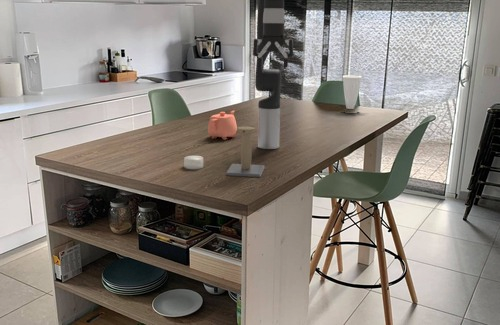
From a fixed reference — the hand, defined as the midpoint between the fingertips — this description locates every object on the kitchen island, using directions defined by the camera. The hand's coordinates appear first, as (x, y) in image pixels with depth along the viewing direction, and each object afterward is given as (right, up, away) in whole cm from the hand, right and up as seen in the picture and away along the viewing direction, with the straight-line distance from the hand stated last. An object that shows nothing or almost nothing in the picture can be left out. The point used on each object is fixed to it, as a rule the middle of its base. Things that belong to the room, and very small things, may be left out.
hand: (272, 68), depth 185 cm
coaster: (-10, -37, 0) cm, 38 cm away
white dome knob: (-29, -36, +6) cm, 46 cm away
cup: (+53, -4, +126) cm, 137 cm away
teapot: (-21, -22, +55) cm, 63 cm away
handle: (-10, -36, 0) cm, 38 cm away
